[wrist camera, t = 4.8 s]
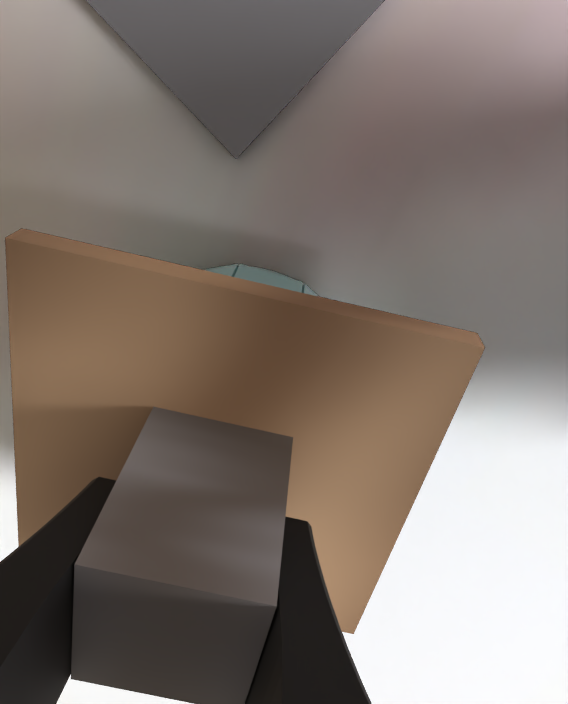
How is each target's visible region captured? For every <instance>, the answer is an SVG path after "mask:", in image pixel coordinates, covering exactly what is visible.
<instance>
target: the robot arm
mask: <svg viewBox="0 0 568 704" xmlns="http://www.w3.org/2000/svg"><path fill="white" fill-rule="evenodd" d="M116 481H117V480H112V479H108V478H103V477H97V478H95V479H93V480H92V481H91V482H90V483H89V484H88V485H87V486H86V487H85V488H84V489H83V490H82V491H81V492H80V493H79V494H78V495H77V496H76V497H75V498H73V499H72V500H71V501H70V502H69V503H68V504H67V505H66V506H65V507H64V508H63V509H62V510H61V511H59V512H58V513H57V514H56V515H55V516H54V517H53V518H52V519H51V520H49V521H48V522H47V523H46V524H45V525H44V526H43V527H42V528H40V529H39V530H38V531H37V532H36V533H34V534H33V535H32V536H31V537H30V538H29V539H27V540H26V541H25V542H24V543H23V544H21V545H20V546H19V547H18V548H17V549H16V550H14V551H13V552H12V553H11V554H10V555H8V556H7V557H6V558H5V559H3V560H2V561H1V562H0V704H56V703H57V701H58V699H59V697H60V695H61V693H62V691H63V688H64V686H65V684H66V682H67V680H68V678H69V676H70V674H71V660H72V628H73V597H74V565H75V562H76V560H77V558H78V556H79V554H80V552H81V550H82V548H83V546H84V544H85V542H86V540H87V538H88V536H89V534H90V532H91V530H92V529H93V527H94V525H95V523H96V521H97V519H98V517H99V515H100V513H101V511H102V509H103V507H104V505H105V503H106V501H107V499H108V497H109V495H110V493H111V491H112V489H113V487H114V485H115V483H116ZM245 704H371V701H370V699H369V697H368V695H367V693H366V690H365V688H364V686H363V683H362V681H361V679H360V676H359V674H358V672H357V669H356V667H355V664H354V662H353V659H352V657H351V654H350V652H349V650H348V647H347V644H346V642H345V639H344V636H343V634H342V631H341V628H340V625H339V623H338V620H337V617H336V614H335V611H334V608H333V605H332V602H331V599H330V596H329V593H328V590H327V587H326V584H325V580H324V577H323V573H322V570H321V566H320V563H319V559H318V555H317V551H316V547H315V542H314V538H313V533H312V527H311V525H310V524H309V523H308V521H304V520H299V519H295V518H290V517H285V526H284V536H283V546H282V557H281V567H280V577H279V587H278V598H277V607H276V610H275V613H274V616H273V619H272V622H271V625H270V628H269V631H268V634H267V637H266V640H265V643H264V646H263V649H262V652H261V655H260V658H259V662H258V665H257V668H256V671H255V674H254V677H253V680H252V683H251V686H250V689H249V692H248V695H247V698H246V701H245Z"/></svg>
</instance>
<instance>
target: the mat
mask: <svg viewBox="0 0 568 704" xmlns="http://www.w3.org/2000/svg"><path fill="white" fill-rule="evenodd" d="M86 1H87V2H88V3H89V4H90V5H91V6H92V7H93V8H94V10H95V11H96V12H97V13H98V14H99V15H100V16H101V17H102V18H103V19H104V20H105V21H106V22H107V23H108V24H109V25H110V26H111V28H112V29H113V30H114V31H115V32H116V33H117V34H118V35H119V36H120V37H121V38H122V39H123V40H124V41H125V42H126V43H127V44H128V45H129V47H130V48H131V49H132V50H133V51H134V52H135V53H136V54H137V55H138V56H139V57H140V58H141V59H142V60H143V61H144V62H145V63H146V65H147V66H148V67H149V68H150V69H151V70H152V71H153V72H154V73H155V74H156V75H157V76H158V77H159V78H160V79H161V80H162V81H163V82H164V84H165V85H166V86H167V87H168V88H169V89H170V90H171V91H172V92H173V93H174V94H175V95H176V96H177V97H178V98H179V99H180V100H181V101H182V103H183V104H184V105H185V106H186V107H187V108H188V109H189V110H190V111H191V112H192V113H193V114H194V115H195V116H196V117H197V118H198V119H199V121H200V122H201V123H202V124H203V125H204V126H205V127H206V128H207V129H208V130H209V131H210V132H211V133H212V134H213V135H214V136H215V137H216V138H217V140H218V141H219V142H220V143H221V144H222V145H223V146H224V147H225V148H226V149H227V150H228V151H229V152H230V153H231V154H232V155H233V156H234V158H235V159H236V158H238V157H239V155H240V154H241V153H242V152H243V151H244V150H245V149H246V148H247V147H248V146H249V145H250V144H251V143H252V142H253V140H254V139H255V138H256V137H257V136H258V135H259V134H260V133H261V132H262V131H263V130H264V129H265V128H266V127H267V126H268V124H269V123H270V122H271V121H272V120H273V119H274V118H275V117H276V116H277V115H278V114H279V113H280V112H281V111H282V110H283V108H284V107H285V106H286V105H287V104H288V103H289V102H290V101H291V100H292V99H293V98H294V97H295V96H296V95H297V94H298V92H299V91H300V90H301V89H302V88H303V87H304V86H305V85H306V84H307V83H308V82H309V81H310V80H311V79H312V78H313V76H314V75H315V74H316V73H317V72H318V71H319V70H320V69H321V68H322V67H323V66H324V65H325V64H326V63H327V62H328V60H329V59H330V58H331V57H332V56H333V55H334V54H335V53H336V52H337V51H338V50H339V49H340V48H341V47H342V46H343V44H344V43H345V42H346V41H347V40H348V39H349V38H350V37H351V36H352V35H353V34H354V33H355V32H356V31H357V29H358V28H359V27H360V26H361V25H362V24H363V23H364V22H365V21H366V20H367V19H368V18H369V17H370V16H371V15H372V13H373V12H374V11H375V10H376V9H377V8H378V7H379V6H380V5H381V4H382V3H383V2H384V1H385V0H86Z"/></svg>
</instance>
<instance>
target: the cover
mask: <svg viewBox="0 0 568 704" xmlns="http://www.w3.org/2000/svg"><path fill="white" fill-rule="evenodd" d="M5 246H6V268H7V291H8V314H9V337H10V359H11V382H12V405H13V428H14V450H15V473H16V496H17V518H18V541H19V546H20V545H21V544H23V543H24V542H25V541H26V540H27V539H29V538H30V537H31V536H32V535H33V534H34V533H36V532H37V531H38V530H39V529H40V528H42V527H43V526H44V525H45V524H46V523H47V522H48V521H49V520H51V519H52V518H53V517H54V516H55V515H56V514H57V513H58V512H59V511H61V510H62V509H63V508H64V507H65V506H66V505H67V504H68V503H69V502H70V501H71V500H72V499H73V498H75V497H76V496H77V495H78V494H79V493H80V492H81V491H82V490H83V489H84V488H85V487H86V486H87V485H88V484H89V483H90V482H91V481H92V480H93V479H95V478H97V477H103V478H108V479H112V480H117V481H116V483H115V485H114V487H113V489H112V491H111V493H110V495H109V497H108V499H107V501H106V503H105V505H104V507H103V509H102V511H101V513H100V515H99V517H98V519H97V521H96V523H95V525H94V527H93V529H92V530H91V532H90V534H89V536H88V538H87V540H86V542H85V544H84V546H83V548H82V550H81V552H80V554H79V556H78V558H77V560H76V562H75V565H74V597H73V628H72V660H71V679H74V680H79V681H84V682H89V683H94V684H99V685H104V686H109V687H114V688H119V689H124V690H129V691H134V692H139V693H144V694H149V695H154V696H159V697H164V698H169V699H174V700H179V701H184V702H189V703H194V704H245V701H246V698H247V695H248V692H249V689H250V686H251V683H252V680H253V677H254V674H255V671H256V668H257V665H258V662H259V658H260V655H261V652H262V649H263V646H264V643H265V640H266V637H267V634H268V631H269V628H270V625H271V622H272V619H273V616H274V613H275V610H276V607H277V598H278V587H279V577H280V567H281V557H282V546H283V536H284V526H285V517H290V518H295V519H299V520H304V521H308V523H309V524H310V525H311V527H312V533H313V538H314V542H315V547H316V551H317V555H318V559H319V563H320V566H321V570H322V573H323V577H324V580H325V584H326V587H327V590H328V593H329V596H330V599H331V602H332V605H333V608H334V611H335V614H336V617H337V620H338V623H339V625H340V628H341V631H342V632H347V633H351V634H354V632H355V629H356V627H357V625H358V623H359V621H360V619H361V616H362V614H363V612H364V610H365V608H366V606H367V603H368V601H369V599H370V597H371V595H372V592H373V590H374V588H375V586H376V584H377V582H378V579H379V577H380V575H381V573H382V571H383V569H384V566H385V564H386V562H387V560H388V558H389V555H390V553H391V551H392V549H393V547H394V545H395V542H396V540H397V538H398V536H399V534H400V532H401V529H402V527H403V525H404V523H405V521H406V518H407V516H408V514H409V512H410V510H411V508H412V505H413V503H414V501H415V499H416V497H417V495H418V492H419V490H420V488H421V486H422V484H423V481H424V479H425V477H426V475H427V473H428V471H429V468H430V466H431V464H432V462H433V460H434V458H435V455H436V453H437V451H438V449H439V447H440V445H441V442H442V440H443V438H444V436H445V434H446V431H447V429H448V427H449V425H450V423H451V421H452V418H453V416H454V414H455V412H456V410H457V408H458V405H459V403H460V401H461V399H462V397H463V394H464V392H465V390H466V388H467V386H468V384H469V381H470V379H471V377H472V375H473V373H474V371H475V368H476V366H477V364H478V362H479V360H480V357H481V355H482V353H483V351H484V349H485V347H484V345H483V343H482V341H481V339H480V337H479V335H478V333H475V332H471V331H466V330H462V329H457V328H453V327H449V326H444V325H440V324H436V323H431V322H427V321H423V320H418V319H414V318H410V317H405V316H401V315H397V314H392V313H388V312H384V311H379V310H375V309H371V308H366V307H362V306H357V305H353V304H349V303H344V302H340V301H336V300H331V299H327V298H323V297H318V296H314V295H310V294H305V293H301V292H297V291H292V290H288V289H284V288H279V287H275V286H271V285H266V284H262V283H257V282H253V281H249V280H244V279H240V278H236V277H231V276H227V275H223V274H218V273H214V272H210V271H205V270H201V269H197V268H192V267H188V266H184V265H179V264H175V263H171V262H166V261H162V260H157V259H153V258H149V257H144V256H140V255H136V254H131V253H127V252H123V251H118V250H114V249H110V248H105V247H101V246H97V245H92V244H88V243H84V242H79V241H75V240H71V239H66V238H62V237H58V236H53V235H49V234H44V233H40V232H36V231H31V230H27V229H23V228H21V229H20V230H18V231H16V232H14V233H13V234H11V235H9V236H7V237H6V238H5Z"/></svg>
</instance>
